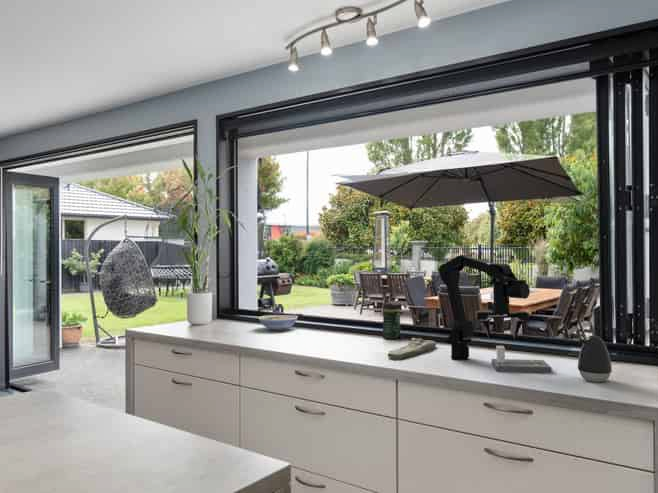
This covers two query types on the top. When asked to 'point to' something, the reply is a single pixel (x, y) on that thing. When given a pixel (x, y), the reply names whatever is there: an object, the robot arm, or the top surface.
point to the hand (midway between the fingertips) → (501, 338)
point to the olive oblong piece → (412, 349)
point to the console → (521, 366)
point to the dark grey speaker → (594, 360)
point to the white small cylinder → (500, 354)
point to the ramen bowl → (278, 321)
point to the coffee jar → (391, 320)
